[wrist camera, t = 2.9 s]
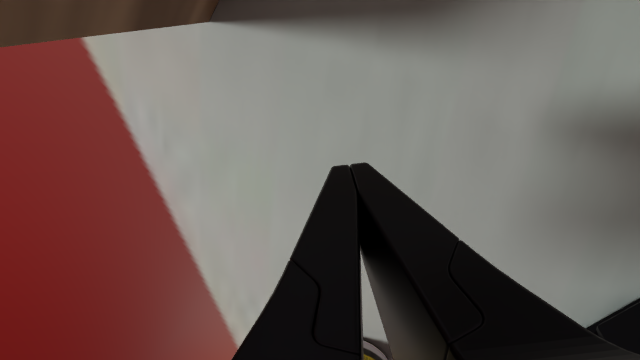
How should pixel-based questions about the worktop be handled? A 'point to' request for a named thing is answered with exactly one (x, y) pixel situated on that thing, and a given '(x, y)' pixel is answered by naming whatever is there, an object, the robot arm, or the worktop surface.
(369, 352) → the supplement bottle
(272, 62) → the worktop surface
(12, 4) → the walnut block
